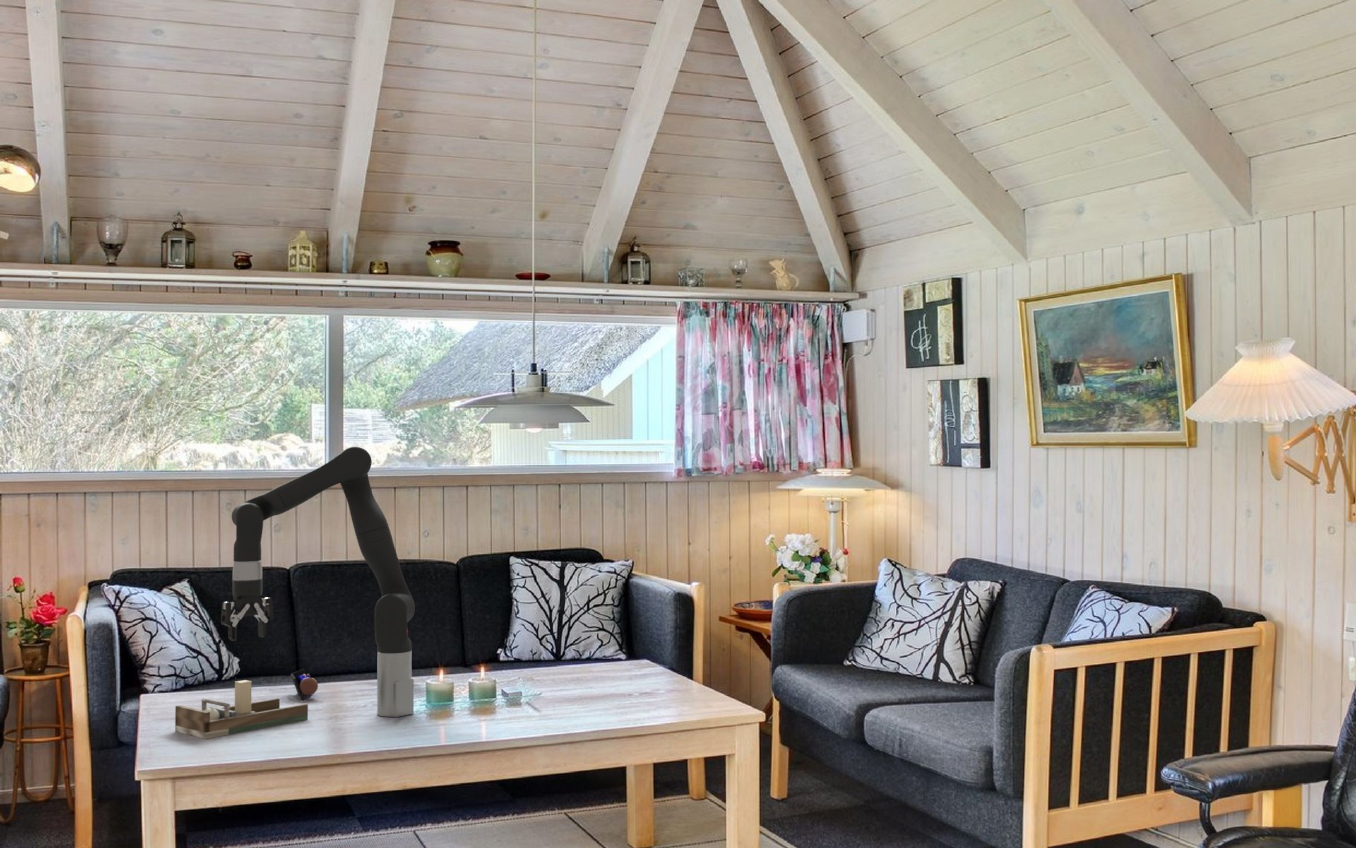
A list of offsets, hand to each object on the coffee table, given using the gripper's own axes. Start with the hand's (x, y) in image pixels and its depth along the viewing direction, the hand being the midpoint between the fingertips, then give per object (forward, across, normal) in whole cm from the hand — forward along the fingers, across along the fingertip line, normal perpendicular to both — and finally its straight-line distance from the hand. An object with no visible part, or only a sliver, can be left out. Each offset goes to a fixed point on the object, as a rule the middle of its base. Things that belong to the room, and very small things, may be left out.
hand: (247, 639), depth 329 cm
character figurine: (+23, +33, +22) cm, 45 cm away
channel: (+22, -2, 0) cm, 23 cm away
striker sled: (+21, -4, 0) cm, 21 cm away
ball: (+19, -11, 0) cm, 22 cm away
